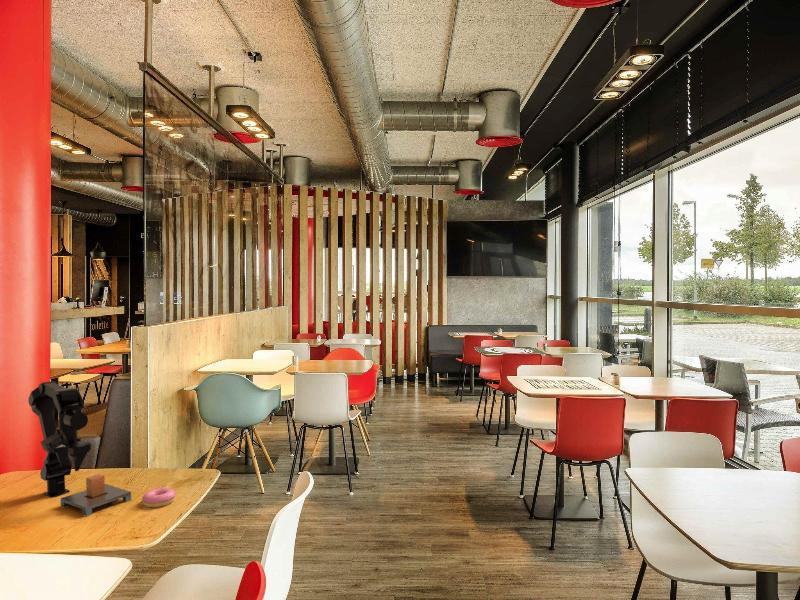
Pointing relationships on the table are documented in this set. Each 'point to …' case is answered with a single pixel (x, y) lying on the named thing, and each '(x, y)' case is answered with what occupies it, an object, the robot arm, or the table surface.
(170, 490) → the doughnut
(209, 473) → the table surface
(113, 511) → the table surface
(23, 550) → the table surface
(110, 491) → the slotted plate
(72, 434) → the robot arm
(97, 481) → the square wooden peg
